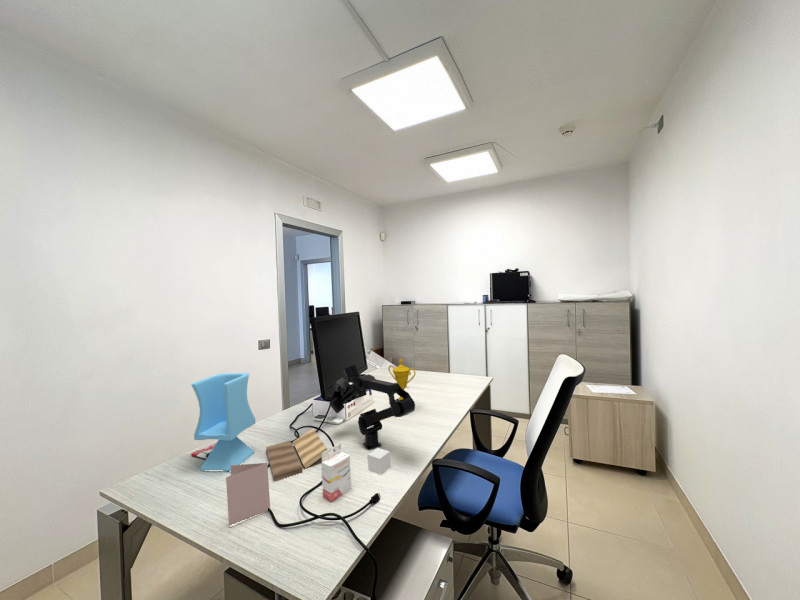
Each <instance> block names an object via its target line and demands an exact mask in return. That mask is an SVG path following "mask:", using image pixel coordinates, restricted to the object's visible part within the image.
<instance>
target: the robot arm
mask: <svg viewBox="0 0 800 600" xmlns="http://www.w3.org/2000/svg"><path fill="white" fill-rule="evenodd" d="M343 373H344V375H345V377H340V378H339V379H338V380H336V382H335V383H334V384H333V390H334V391H336V392H338V393H339V392H340V395H341V396H342V399H340V398H339V397H338V396H335V398H333V399H331V400H330V401H329V402H328V403H329V406H330V407H331V409H332V410H333V412H335V413H336V414H339V413H340V412H341V411H342V410H343V409H345V404H346V403H351V402H352V401H353V400H355V399H356V398H357V397H358V396H359V398H362V397H364V396H367V391H370V390H372V391H376V392H378V393H379V392H380V393H384V394H386V395H387V397H388V402H389V405H390V406H389V407H387V408H384V409H382V410H380V411H377V409H376V408H373V409H370V410H368V411H365V412H362V413H360V414H359V416H358V420H357V424H358V428H359V432H360V434H361V435H362V436H364V439H365V441H364V442H362V445H363V447H364V448H365V449H367V451H370V450H373V449H376V448H380V447H381V446H382V444H381V442H379V431H381V430H382V429H383V424H382V421H383V420H386V419H389V418H391V417H394V418H401V417H404V416H407V415H409V414H410V413H414V411H415V409H416V402H415V401H414V399H413V398H412V396H411V395H410V393H409V392H408V391H406V390H405V389H404V390H403V389H402V388H401V387H400V385H399V384H398V383H397V382H390V381H385V380H382V379H377V378H375V376H373V375H372V374H366V373H361V374H359V371H358V369H357V365H356V364H351V365H350V366H347V367H345V368H344V369H343ZM345 378H346V379H345ZM395 394H396V395H398V396H399V397H402V398H403V399H402V400H399V401H397V402H396V398H395ZM406 414H407V415H406Z"/></svg>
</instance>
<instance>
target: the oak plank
mask: <svg viewBox="0 0 800 600" xmlns="http://www.w3.org/2000/svg"><path fill="white" fill-rule="evenodd" d="M292 445H293V447H295V448H294V449H295V450H296V452H297V454H298V456H299V459H300V460H301V463H302V464H303V467H304V468H305V469H308V467H310V466H312V465H313V464H315V463H316V462H317V461H319V459H322V453H323V452H325V451H327V450H328V448H327V446H326V445H325V443H324V442H323V440H322V439H321V438H320V436H319V435H318V433H317V432H316V430H315V429H314V428H311V429H310V430H309V431H307V432H305V433H304V434H302V435H301V436H300V437H298V438H297V439H295V440H293V441H292Z"/></svg>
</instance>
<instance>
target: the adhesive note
mask: <svg viewBox="0 0 800 600" xmlns="http://www.w3.org/2000/svg"><path fill="white" fill-rule="evenodd" d="M390 467H391V452H390V451H389V450H386V449H383V448H380V447H376V448H374V450H373V449H372V451H371V452H368V453H367V469H368V471H370V472H373V473H375V474H378V475H382V474H384V473H385V472H386V471H387V470H388V469H390Z"/></svg>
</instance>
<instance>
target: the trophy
mask: <svg viewBox="0 0 800 600" xmlns="http://www.w3.org/2000/svg"><path fill="white" fill-rule="evenodd" d="M398 362H399V365H398V366H396V367H394V365H392V364H391V365H389V366H388V368H387V369H388V370H387V371H388V372H389V374H390V376H391V377H392V378H393V379H394V380H395V383H398V384H399V385H400V387H401V388H402V389H403V390H405V389H409V388H410V387H409V386H408V384H409V383H410V382H411V381H412V380H413V379H414V378H415V376H416V371H415V368H413V367H411V368H410V367H407V366H405V365H404V364H403V363H404V359H403V358H399V359H398ZM391 368H392V371H391ZM411 371H413V373H414V374H413V375H412V376H411V374H412V372H411ZM409 376H411V378H409ZM402 399H403V398H402V397H400V396H399V397H398V398H395V400H396V402H397V401H399V400H402ZM407 415H408V414H406V415H405V416H407Z"/></svg>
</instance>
